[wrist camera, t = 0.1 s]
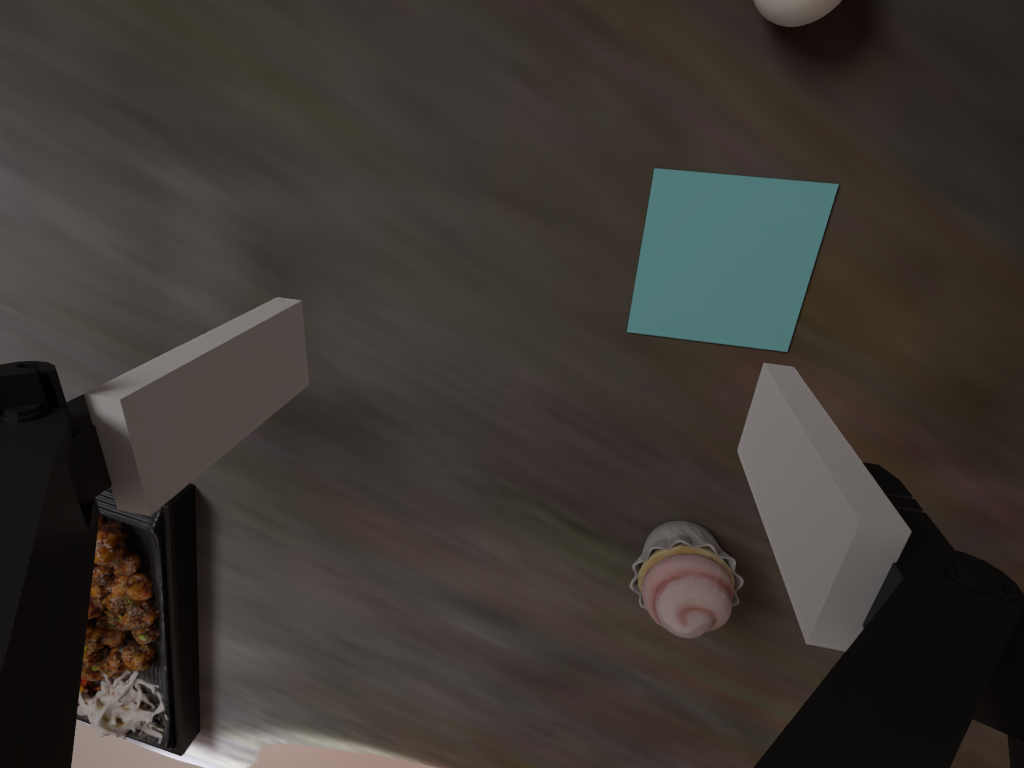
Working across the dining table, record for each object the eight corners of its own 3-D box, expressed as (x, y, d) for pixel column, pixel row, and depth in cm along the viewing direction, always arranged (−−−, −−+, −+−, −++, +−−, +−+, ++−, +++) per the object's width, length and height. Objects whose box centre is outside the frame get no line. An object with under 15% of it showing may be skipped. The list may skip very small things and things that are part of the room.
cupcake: (729, 499, 48) (754, 584, 39) (736, 581, 52) (761, 676, 43) (621, 507, 51) (621, 589, 42) (635, 585, 54) (638, 676, 45)
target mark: (654, 168, 38) (654, 168, 38) (837, 184, 37) (838, 184, 37) (626, 331, 44) (627, 332, 43) (786, 351, 42) (787, 351, 42)
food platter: (203, 725, 80) (149, 803, 71) (48, 671, 81) (-26, 740, 72) (199, 481, 60) (122, 545, 50) (-8, 413, 61) (-120, 464, 52)
